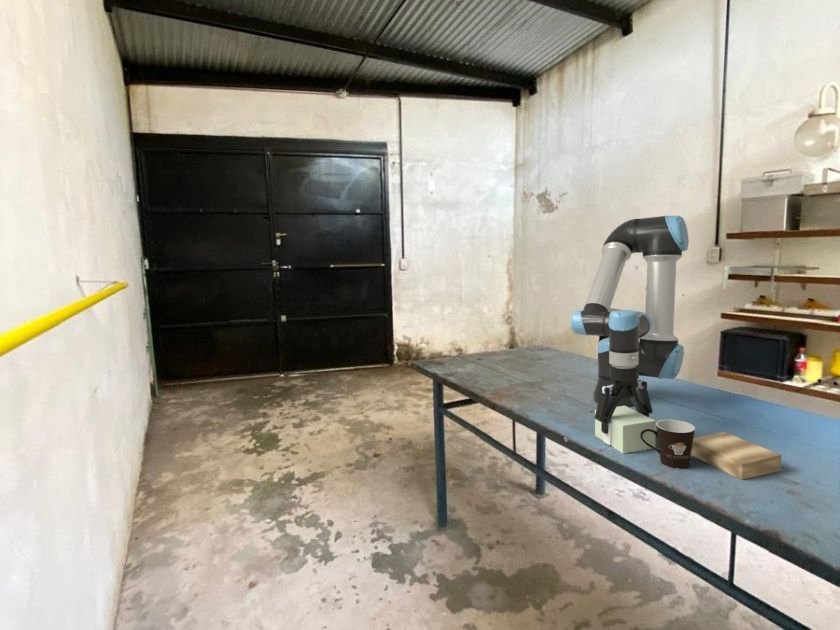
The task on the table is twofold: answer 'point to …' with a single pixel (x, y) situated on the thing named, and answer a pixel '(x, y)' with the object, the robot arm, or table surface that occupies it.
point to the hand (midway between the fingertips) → (623, 440)
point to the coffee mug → (673, 442)
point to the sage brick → (629, 430)
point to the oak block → (735, 455)
